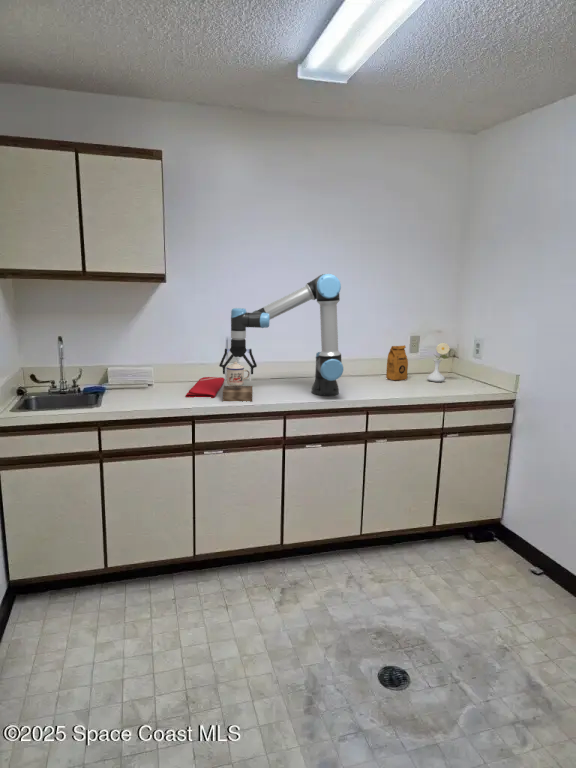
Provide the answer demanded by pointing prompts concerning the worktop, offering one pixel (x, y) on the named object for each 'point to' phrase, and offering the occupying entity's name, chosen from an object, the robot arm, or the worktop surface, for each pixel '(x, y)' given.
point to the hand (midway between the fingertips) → (238, 380)
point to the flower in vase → (436, 376)
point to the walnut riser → (237, 393)
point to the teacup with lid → (236, 374)
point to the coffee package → (397, 363)
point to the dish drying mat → (206, 387)
